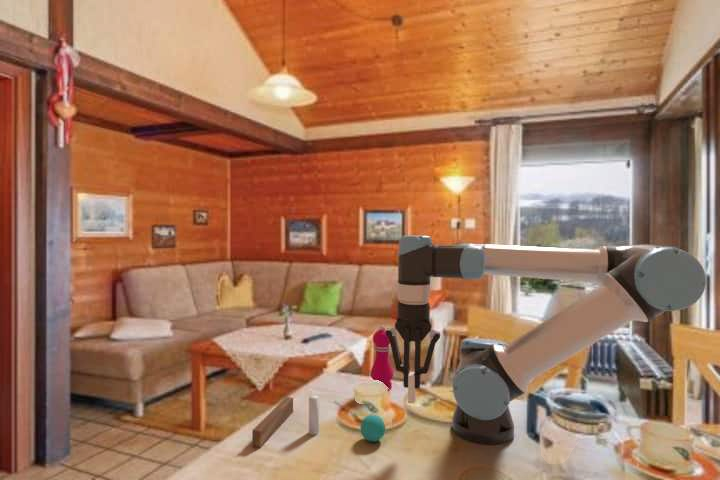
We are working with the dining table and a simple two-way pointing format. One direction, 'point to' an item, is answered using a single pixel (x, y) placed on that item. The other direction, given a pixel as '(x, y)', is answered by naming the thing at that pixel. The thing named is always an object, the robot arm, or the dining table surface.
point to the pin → (313, 415)
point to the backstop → (272, 422)
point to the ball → (372, 428)
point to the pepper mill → (382, 358)
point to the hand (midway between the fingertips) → (411, 401)
